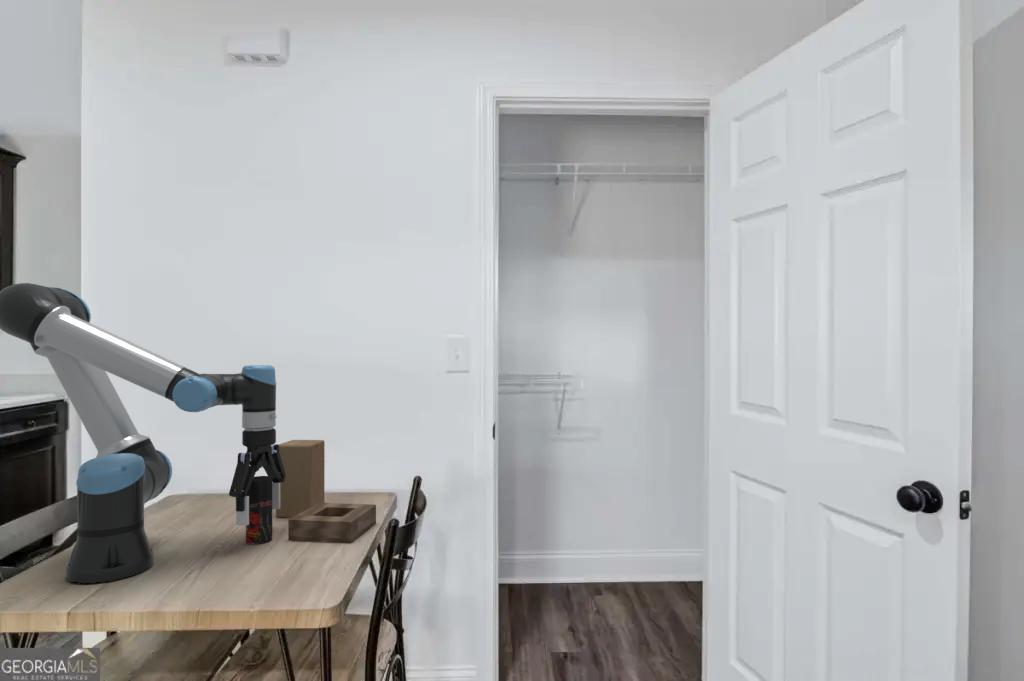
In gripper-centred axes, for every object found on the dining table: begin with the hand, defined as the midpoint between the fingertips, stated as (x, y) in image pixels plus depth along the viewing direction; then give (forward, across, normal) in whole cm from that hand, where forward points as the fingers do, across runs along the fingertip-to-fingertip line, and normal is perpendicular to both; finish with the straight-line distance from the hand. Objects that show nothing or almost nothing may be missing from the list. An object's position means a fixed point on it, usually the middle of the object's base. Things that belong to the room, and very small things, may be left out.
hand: (259, 516), depth 143 cm
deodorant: (+6, 0, 0) cm, 6 cm away
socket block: (+6, +9, -15) cm, 18 cm away
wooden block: (+6, +24, +2) cm, 25 cm away
